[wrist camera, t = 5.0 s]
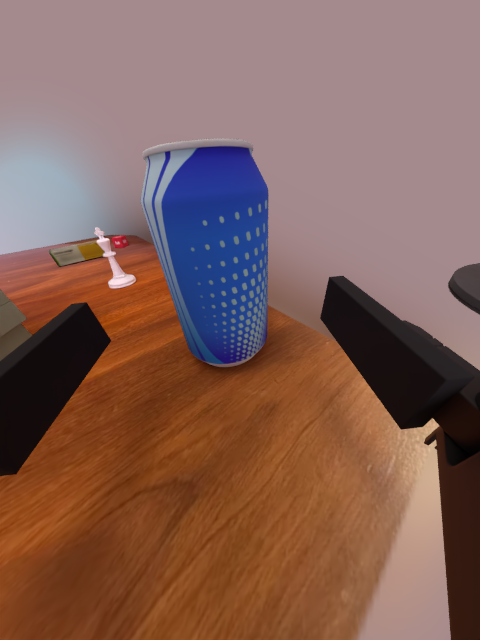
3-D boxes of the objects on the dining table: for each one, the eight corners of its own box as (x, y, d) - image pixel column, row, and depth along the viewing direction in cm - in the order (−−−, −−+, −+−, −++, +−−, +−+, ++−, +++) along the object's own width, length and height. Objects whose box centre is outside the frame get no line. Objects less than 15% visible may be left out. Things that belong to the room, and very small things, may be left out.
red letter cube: (128, 244, 64) (125, 235, 63) (123, 247, 62) (119, 237, 60) (120, 245, 65) (116, 236, 63) (115, 247, 62) (111, 238, 60)
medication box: (58, 267, 49) (47, 252, 47) (58, 264, 51) (47, 249, 48) (108, 255, 55) (101, 240, 52) (107, 252, 56) (100, 238, 54)
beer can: (218, 390, 16) (153, 128, 7) (177, 342, 22) (110, 160, 12) (283, 343, 20) (299, 137, 11) (235, 312, 26) (217, 158, 16)
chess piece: (123, 289, 35) (94, 230, 29) (103, 287, 36) (72, 231, 30) (141, 278, 38) (119, 224, 33) (122, 277, 40) (98, 225, 34)
